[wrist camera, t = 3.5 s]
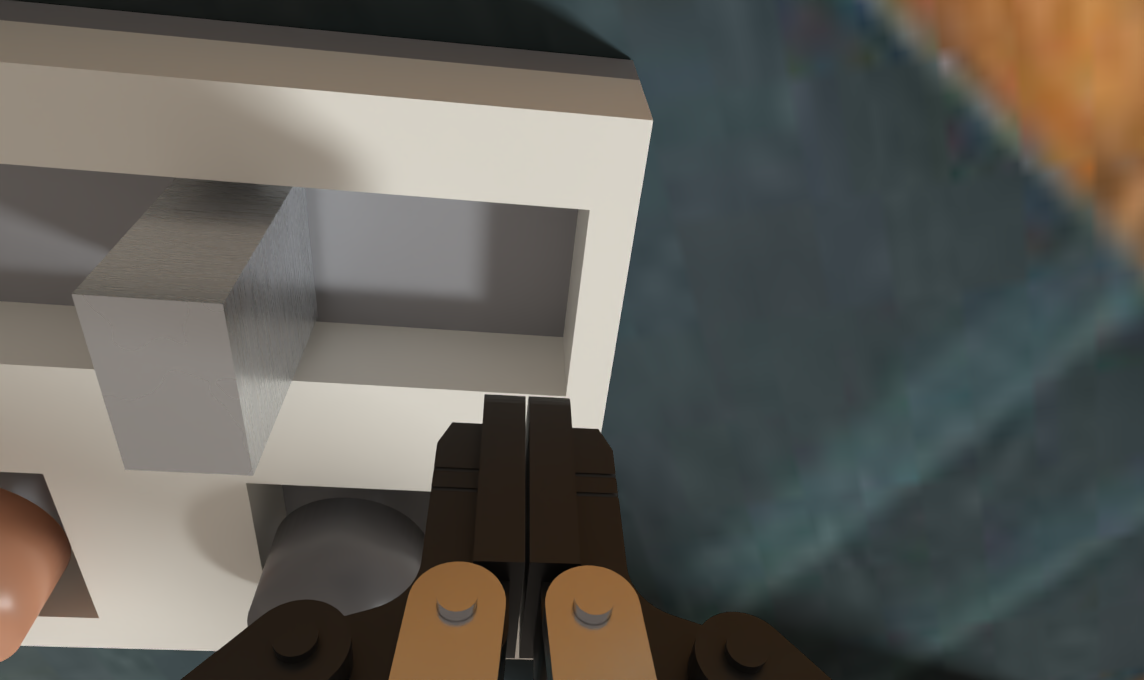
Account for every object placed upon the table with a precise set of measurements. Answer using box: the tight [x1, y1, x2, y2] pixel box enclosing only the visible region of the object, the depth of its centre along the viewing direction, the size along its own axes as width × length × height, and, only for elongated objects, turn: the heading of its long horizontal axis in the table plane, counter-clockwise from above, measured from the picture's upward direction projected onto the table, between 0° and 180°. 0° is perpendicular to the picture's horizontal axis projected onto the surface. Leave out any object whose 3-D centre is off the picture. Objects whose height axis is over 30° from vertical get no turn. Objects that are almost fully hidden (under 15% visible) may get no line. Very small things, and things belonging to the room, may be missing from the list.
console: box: [0, 0, 653, 660], centre depth 21 cm, size 23×18×4 cm
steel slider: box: [72, 178, 318, 476], centre depth 17 cm, size 2×4×6 cm, turn 174°
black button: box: [247, 498, 425, 626], centre depth 22 cm, size 4×4×3 cm
